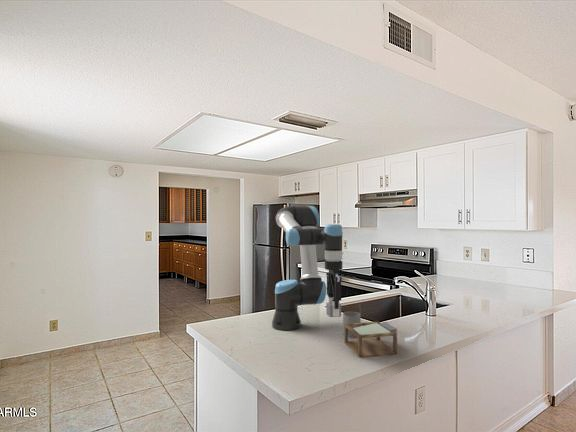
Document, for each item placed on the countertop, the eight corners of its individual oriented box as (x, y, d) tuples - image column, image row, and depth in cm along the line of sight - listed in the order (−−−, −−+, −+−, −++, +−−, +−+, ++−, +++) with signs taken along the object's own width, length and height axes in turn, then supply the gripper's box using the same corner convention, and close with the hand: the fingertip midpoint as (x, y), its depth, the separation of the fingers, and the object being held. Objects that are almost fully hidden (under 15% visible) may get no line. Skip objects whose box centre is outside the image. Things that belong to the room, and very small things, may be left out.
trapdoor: (362, 341, 144) (361, 337, 144) (350, 331, 157) (349, 327, 157) (398, 333, 148) (398, 329, 148) (384, 324, 160) (383, 320, 160)
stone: (329, 317, 149) (329, 305, 149) (326, 314, 154) (326, 302, 154) (341, 316, 150) (341, 304, 150) (337, 313, 154) (337, 301, 155)
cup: (348, 330, 175) (348, 310, 175) (363, 334, 170) (363, 313, 170) (339, 335, 169) (339, 314, 169) (355, 338, 163) (355, 317, 163)
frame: (359, 357, 142) (359, 336, 142) (344, 342, 158) (344, 323, 158) (397, 353, 145) (397, 333, 145) (378, 340, 162) (378, 321, 162)
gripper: (349, 262, 143) (349, 319, 143) (335, 257, 161) (335, 308, 161) (331, 263, 142) (331, 320, 142) (319, 258, 160) (319, 309, 160)
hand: (333, 314), depth 152 cm, fingers closed on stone, 5 cm apart
